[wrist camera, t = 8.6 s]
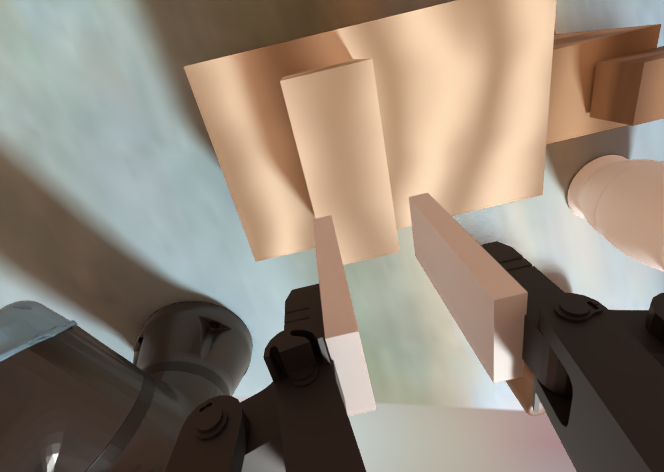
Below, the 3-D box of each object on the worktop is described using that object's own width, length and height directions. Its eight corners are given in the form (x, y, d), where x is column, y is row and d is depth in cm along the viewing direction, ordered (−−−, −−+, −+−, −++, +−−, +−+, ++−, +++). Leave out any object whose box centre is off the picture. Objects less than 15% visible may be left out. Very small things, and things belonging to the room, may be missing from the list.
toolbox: (265, 211, 41) (255, 261, 31) (217, 64, 34) (183, 66, 24) (547, 145, 41) (632, 173, 31) (560, -19, 34) (675, -53, 23)
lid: (257, 253, 32) (245, 312, 25) (189, 66, 25) (143, 68, 18) (532, 189, 32) (604, 229, 25) (544, -20, 25) (652, -55, 17)
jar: (656, 174, 44) (813, 224, 31) (591, 237, 47) (707, 307, 34) (606, 128, 41) (758, 161, 27) (540, 199, 44) (646, 260, 31)
